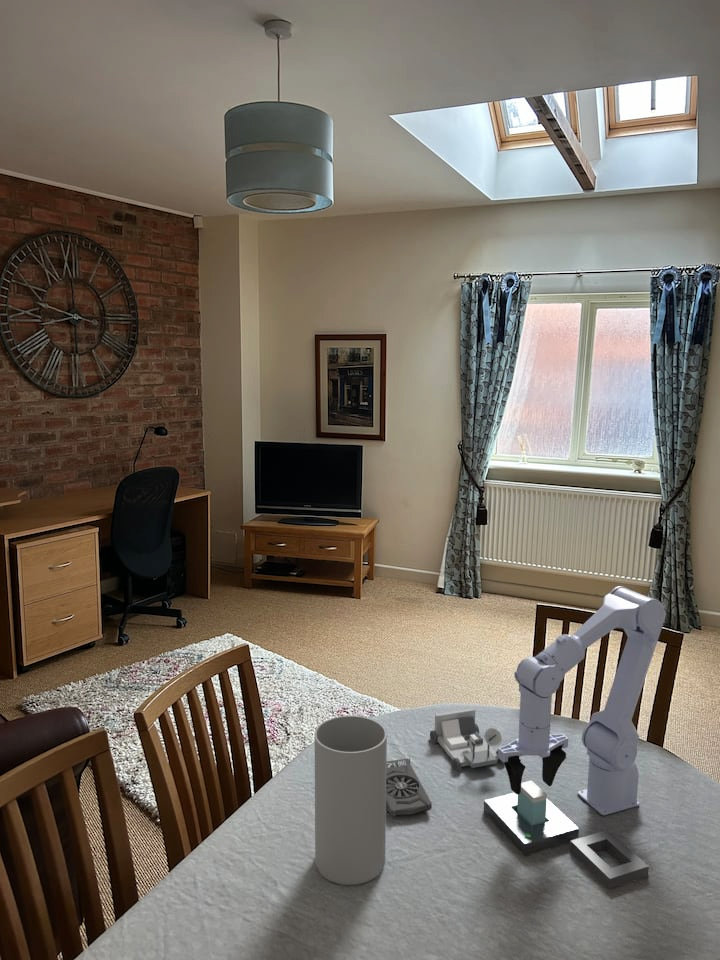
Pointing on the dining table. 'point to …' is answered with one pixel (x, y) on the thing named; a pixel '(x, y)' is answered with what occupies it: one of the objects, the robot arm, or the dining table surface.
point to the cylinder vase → (350, 799)
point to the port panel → (524, 836)
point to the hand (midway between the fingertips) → (531, 787)
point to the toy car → (465, 739)
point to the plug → (532, 804)
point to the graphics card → (404, 790)
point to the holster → (607, 875)
